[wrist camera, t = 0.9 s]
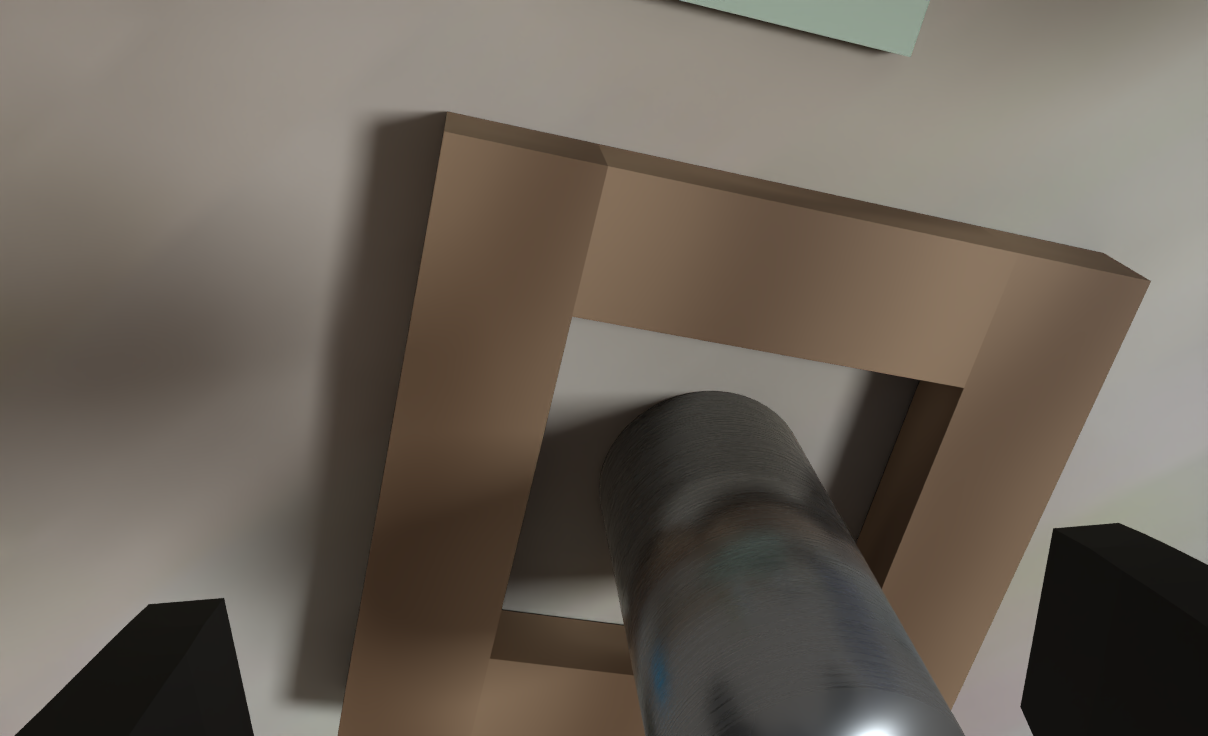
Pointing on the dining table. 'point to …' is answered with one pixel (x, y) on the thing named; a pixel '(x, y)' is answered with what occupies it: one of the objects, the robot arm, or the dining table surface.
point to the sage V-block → (839, 19)
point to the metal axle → (750, 586)
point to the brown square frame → (722, 315)
